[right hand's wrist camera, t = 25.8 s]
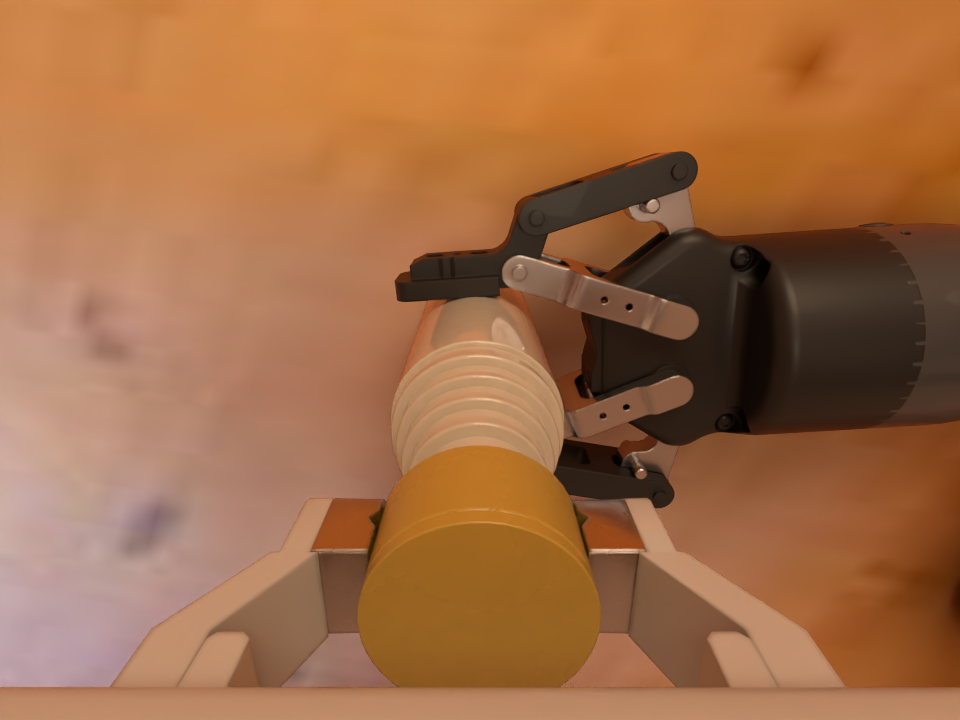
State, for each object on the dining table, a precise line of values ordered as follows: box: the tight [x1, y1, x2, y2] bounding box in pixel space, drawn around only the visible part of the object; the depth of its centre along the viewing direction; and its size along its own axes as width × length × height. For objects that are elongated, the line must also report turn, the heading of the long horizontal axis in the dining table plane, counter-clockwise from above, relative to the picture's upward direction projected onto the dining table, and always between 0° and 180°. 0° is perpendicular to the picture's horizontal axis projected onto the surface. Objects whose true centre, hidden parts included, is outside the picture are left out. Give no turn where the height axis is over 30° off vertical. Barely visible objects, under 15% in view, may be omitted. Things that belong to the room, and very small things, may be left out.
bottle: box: [391, 288, 564, 476], centre depth 18 cm, size 5×5×18 cm
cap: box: [357, 446, 601, 687], centre depth 9 cm, size 4×4×2 cm
